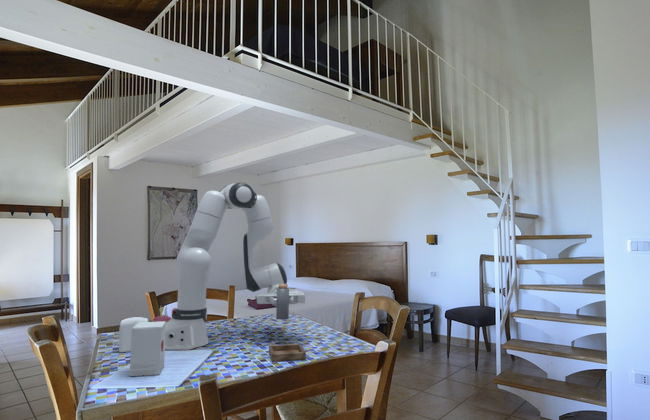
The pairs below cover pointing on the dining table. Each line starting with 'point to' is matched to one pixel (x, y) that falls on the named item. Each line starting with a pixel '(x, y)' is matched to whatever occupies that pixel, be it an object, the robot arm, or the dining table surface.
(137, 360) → the supplement box
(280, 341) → the dining table surface
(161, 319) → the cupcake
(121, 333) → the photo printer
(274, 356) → the tray
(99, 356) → the dining table surface
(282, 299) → the canister
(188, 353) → the dining table surface
